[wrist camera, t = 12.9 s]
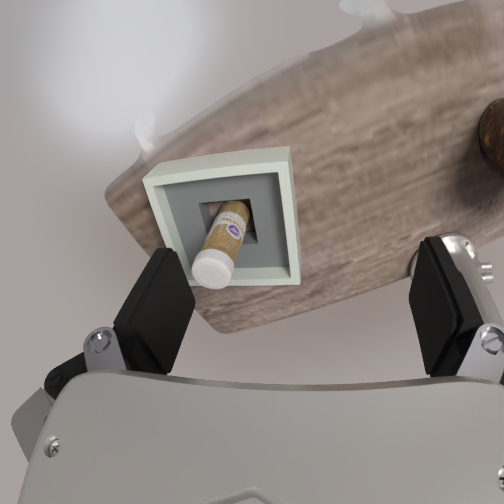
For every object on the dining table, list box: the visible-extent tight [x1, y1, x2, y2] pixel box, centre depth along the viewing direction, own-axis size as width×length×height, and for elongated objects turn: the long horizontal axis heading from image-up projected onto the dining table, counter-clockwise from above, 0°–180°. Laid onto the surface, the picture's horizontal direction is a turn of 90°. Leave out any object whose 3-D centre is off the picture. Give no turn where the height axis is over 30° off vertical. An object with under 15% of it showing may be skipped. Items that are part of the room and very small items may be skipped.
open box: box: [142, 146, 301, 286], centre depth 41 cm, size 18×18×6 cm
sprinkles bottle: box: [192, 200, 250, 289], centre depth 38 cm, size 5×5×13 cm
